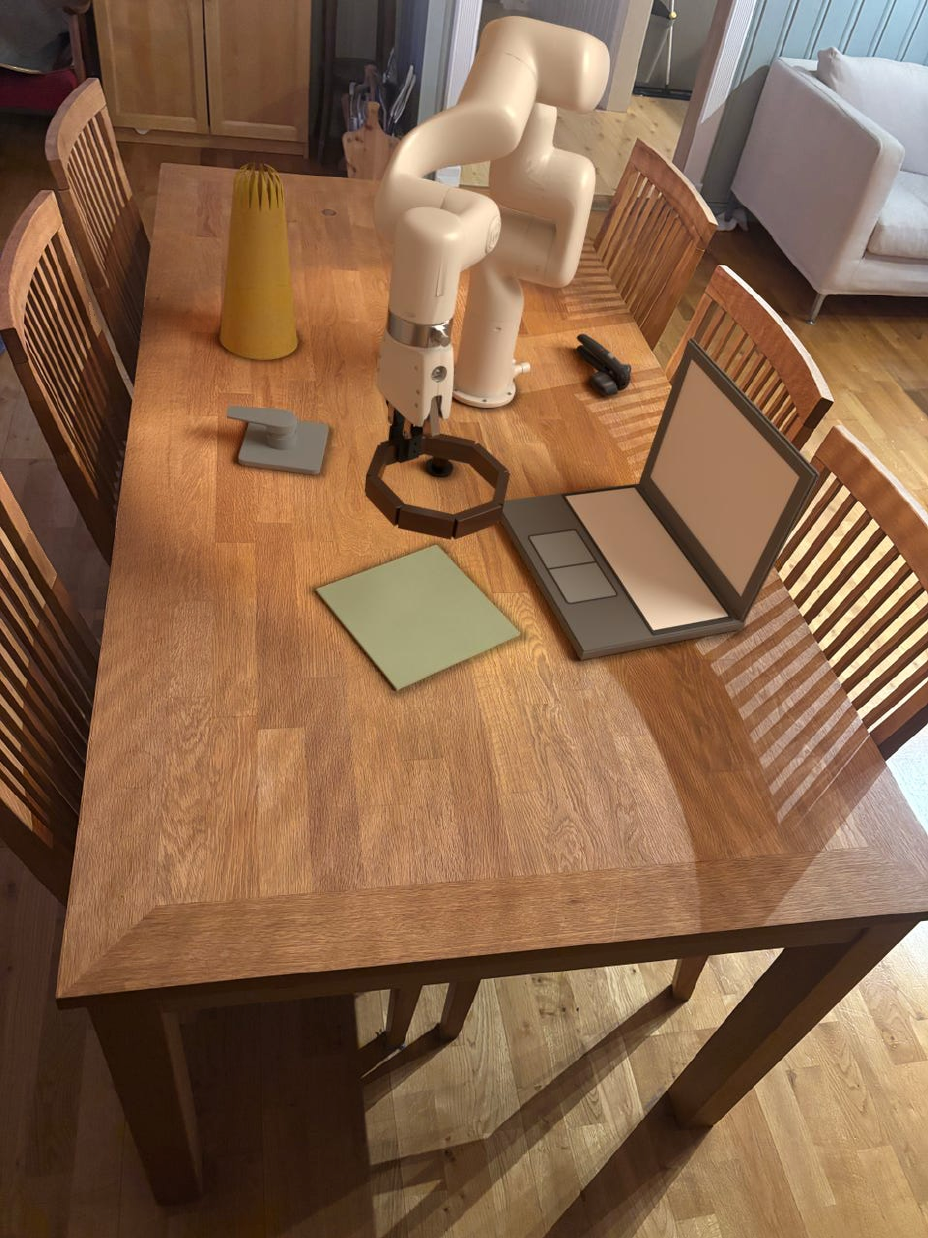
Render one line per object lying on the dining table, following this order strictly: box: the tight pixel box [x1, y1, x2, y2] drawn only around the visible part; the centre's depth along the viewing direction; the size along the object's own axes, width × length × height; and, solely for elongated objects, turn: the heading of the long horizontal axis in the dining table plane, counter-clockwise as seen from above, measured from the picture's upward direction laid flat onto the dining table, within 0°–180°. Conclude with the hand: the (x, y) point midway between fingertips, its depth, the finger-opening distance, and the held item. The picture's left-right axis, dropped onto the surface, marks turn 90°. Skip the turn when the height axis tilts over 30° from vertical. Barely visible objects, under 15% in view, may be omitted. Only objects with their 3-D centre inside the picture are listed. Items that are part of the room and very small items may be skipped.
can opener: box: [575, 333, 632, 397], centre depth 179 cm, size 18×7×6 cm, turn 20°
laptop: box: [500, 337, 821, 661], centre depth 133 cm, size 32×26×28 cm
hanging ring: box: [364, 432, 511, 541], centre depth 119 cm, size 17×17×3 cm
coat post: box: [425, 456, 454, 478], centre depth 152 cm, size 4×4×6 cm
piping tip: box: [219, 162, 299, 361], centre depth 162 cm, size 14×14×30 cm
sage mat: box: [315, 544, 521, 691], centre depth 131 cm, size 20×20×1 cm
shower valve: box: [226, 405, 329, 476], centre depth 150 cm, size 12×6×15 cm
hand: (403, 453), depth 123 cm, fingers closed on hanging ring, 1 cm apart
